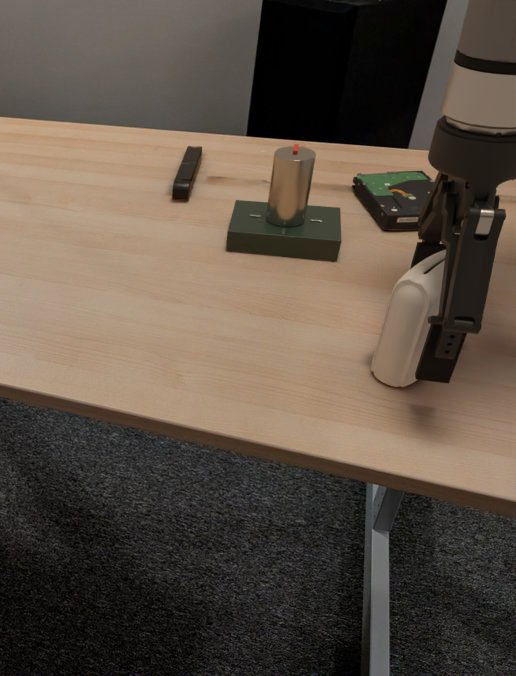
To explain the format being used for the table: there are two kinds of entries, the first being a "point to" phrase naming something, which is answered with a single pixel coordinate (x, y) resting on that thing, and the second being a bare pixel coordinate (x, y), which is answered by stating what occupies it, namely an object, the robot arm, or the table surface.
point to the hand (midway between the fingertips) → (423, 336)
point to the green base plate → (285, 233)
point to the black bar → (187, 173)
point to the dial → (290, 185)
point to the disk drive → (394, 197)
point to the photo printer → (408, 322)
